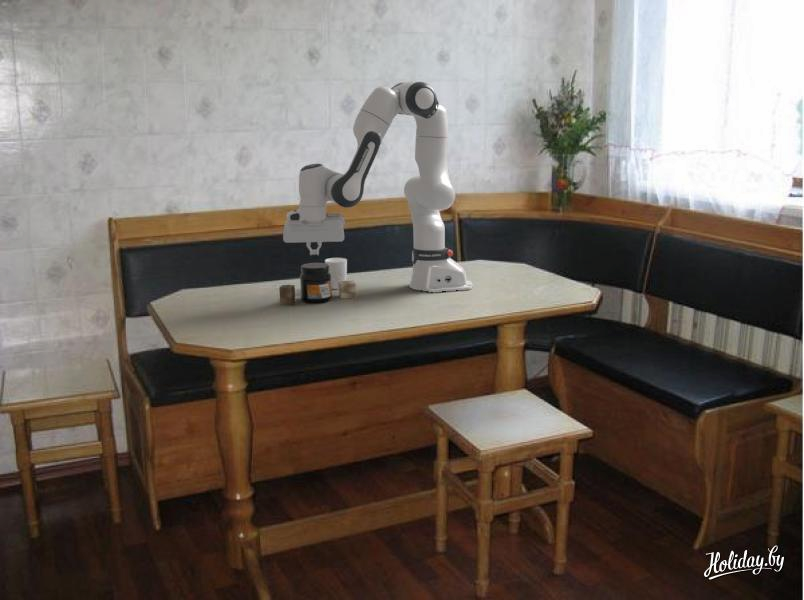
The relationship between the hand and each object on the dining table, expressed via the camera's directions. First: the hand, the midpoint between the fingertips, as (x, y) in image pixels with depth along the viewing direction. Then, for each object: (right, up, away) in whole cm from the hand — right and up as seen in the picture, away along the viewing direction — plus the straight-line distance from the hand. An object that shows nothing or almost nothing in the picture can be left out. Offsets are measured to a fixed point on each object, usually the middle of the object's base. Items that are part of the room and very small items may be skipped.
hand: (314, 255), depth 284 cm
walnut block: (-9, -16, 0) cm, 18 cm away
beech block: (+10, -14, +9) cm, 19 cm away
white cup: (+6, -11, +22) cm, 25 cm away
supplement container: (0, -15, +4) cm, 16 cm away
